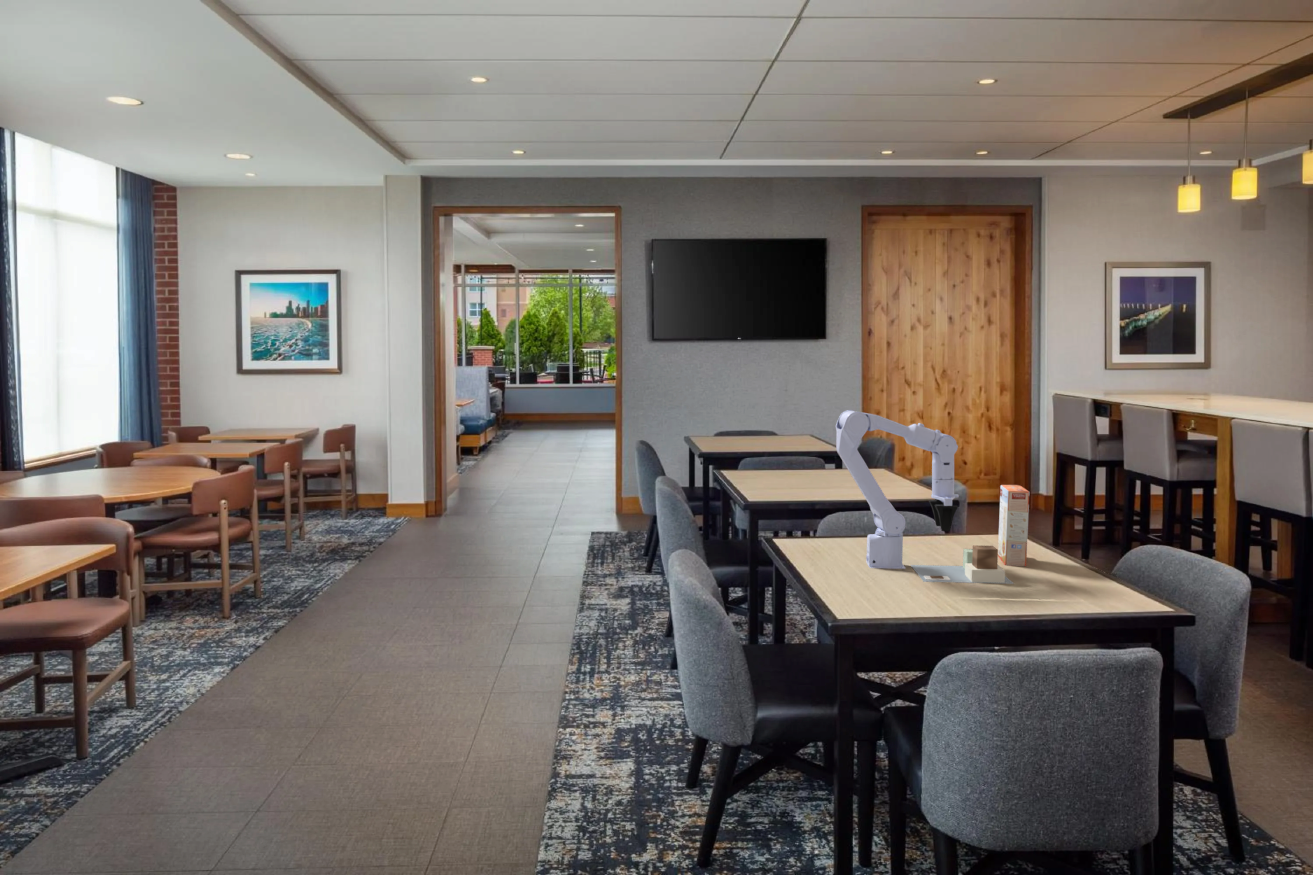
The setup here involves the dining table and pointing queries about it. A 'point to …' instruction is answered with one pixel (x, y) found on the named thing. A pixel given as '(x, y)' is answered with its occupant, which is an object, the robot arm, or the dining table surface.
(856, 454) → the robot arm
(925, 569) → the board
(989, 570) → the cream base block
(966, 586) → the dining table surface
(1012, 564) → the cracker box
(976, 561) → the walnut block
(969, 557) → the sage block
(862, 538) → the dining table surface
